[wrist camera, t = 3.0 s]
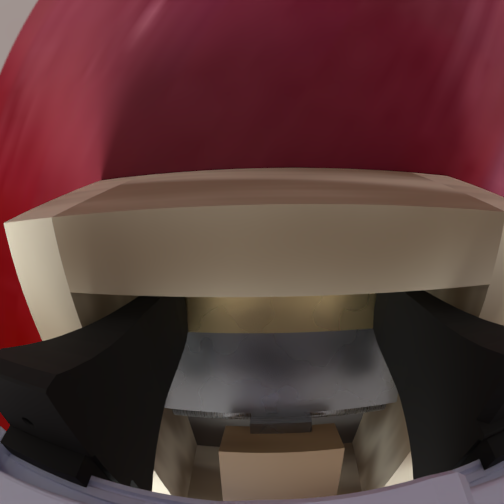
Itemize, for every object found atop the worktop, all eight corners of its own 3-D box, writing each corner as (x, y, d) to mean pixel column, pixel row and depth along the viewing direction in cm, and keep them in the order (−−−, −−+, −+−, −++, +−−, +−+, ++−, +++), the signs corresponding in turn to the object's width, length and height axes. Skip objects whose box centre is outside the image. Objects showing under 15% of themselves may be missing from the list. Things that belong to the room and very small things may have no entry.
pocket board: (370, 448, 18) (384, 511, 13) (176, 451, 19) (162, 515, 14) (447, 175, 11) (544, 215, 5) (100, 180, 12) (3, 223, 6)
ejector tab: (364, 507, 11) (370, 525, 10) (186, 511, 12) (180, 528, 10) (396, 261, 12) (412, 261, 10) (159, 265, 12) (145, 266, 11)
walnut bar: (319, 522, 10) (324, 547, 8) (232, 524, 11) (228, 549, 9) (334, 423, 11) (344, 447, 9) (225, 425, 11) (218, 451, 9)
